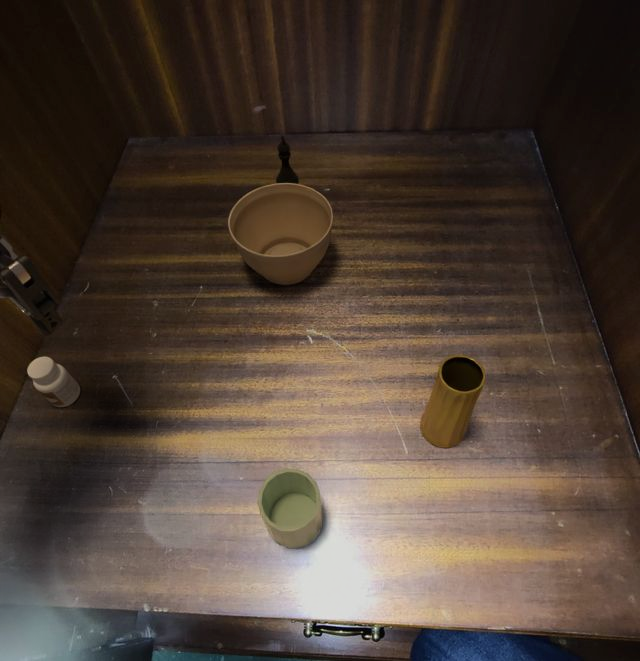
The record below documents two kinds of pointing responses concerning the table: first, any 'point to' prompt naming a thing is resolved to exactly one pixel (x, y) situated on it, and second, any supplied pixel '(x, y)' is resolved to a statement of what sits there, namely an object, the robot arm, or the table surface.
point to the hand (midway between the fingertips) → (26, 310)
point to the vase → (452, 400)
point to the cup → (291, 507)
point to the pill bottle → (53, 382)
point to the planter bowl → (282, 230)
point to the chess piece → (285, 165)
